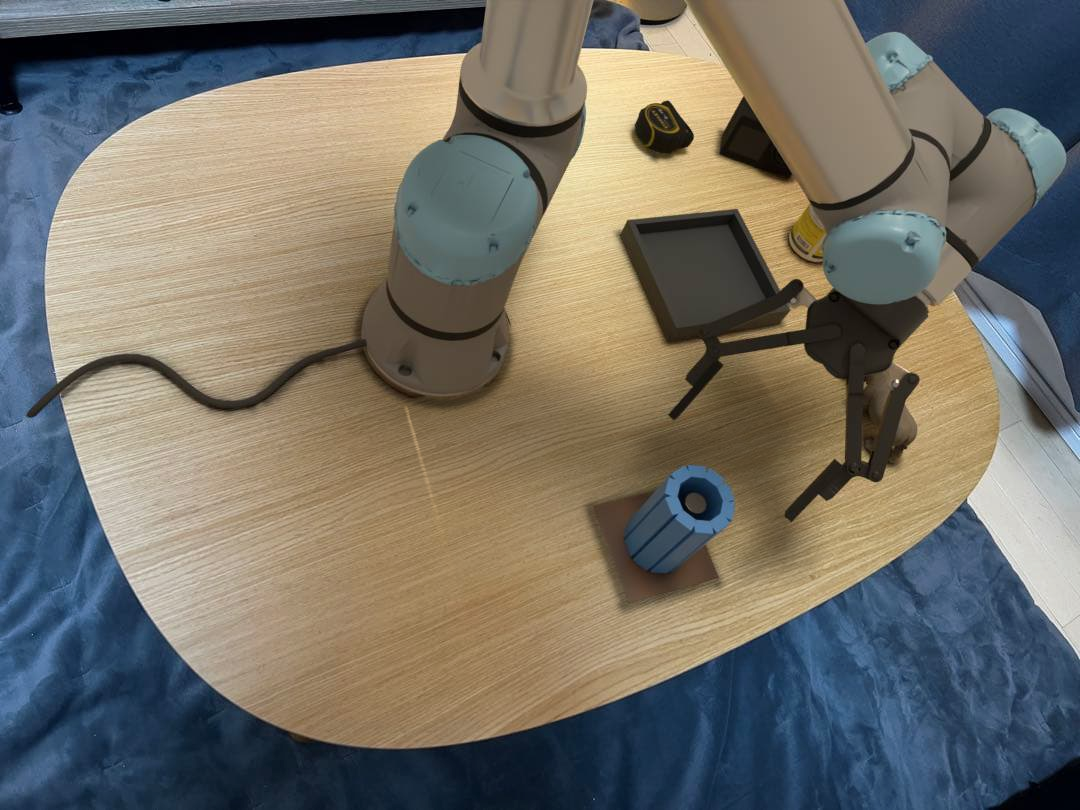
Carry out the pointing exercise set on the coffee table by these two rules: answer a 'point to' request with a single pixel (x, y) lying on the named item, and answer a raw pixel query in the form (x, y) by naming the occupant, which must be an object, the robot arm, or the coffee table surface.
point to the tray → (699, 270)
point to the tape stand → (630, 573)
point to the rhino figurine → (876, 400)
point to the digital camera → (751, 142)
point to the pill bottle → (808, 236)
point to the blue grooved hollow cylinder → (678, 519)
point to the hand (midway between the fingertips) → (729, 466)
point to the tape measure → (662, 128)
